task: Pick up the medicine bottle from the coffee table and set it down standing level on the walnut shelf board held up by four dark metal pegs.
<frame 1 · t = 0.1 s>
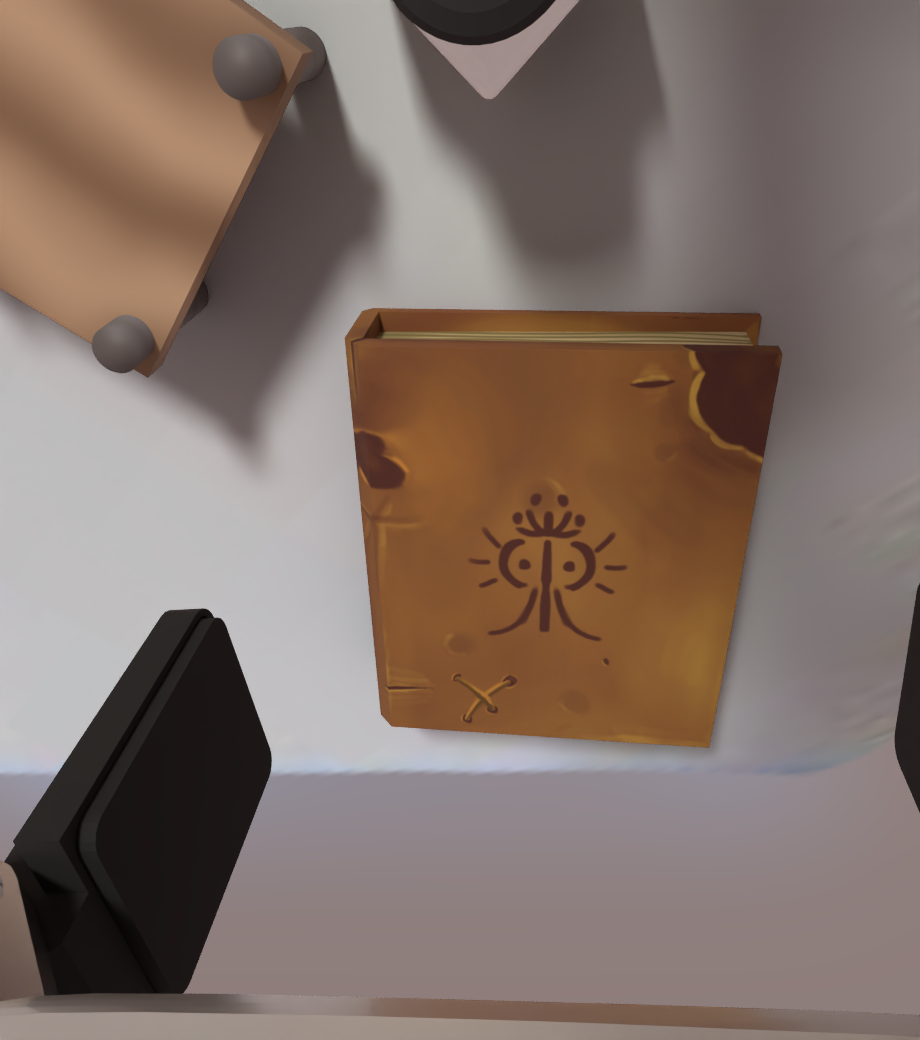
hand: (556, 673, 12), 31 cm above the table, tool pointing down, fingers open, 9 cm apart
diary: (549, 510, 47), on the table
shelf stand: (116, 99, 38), on the table
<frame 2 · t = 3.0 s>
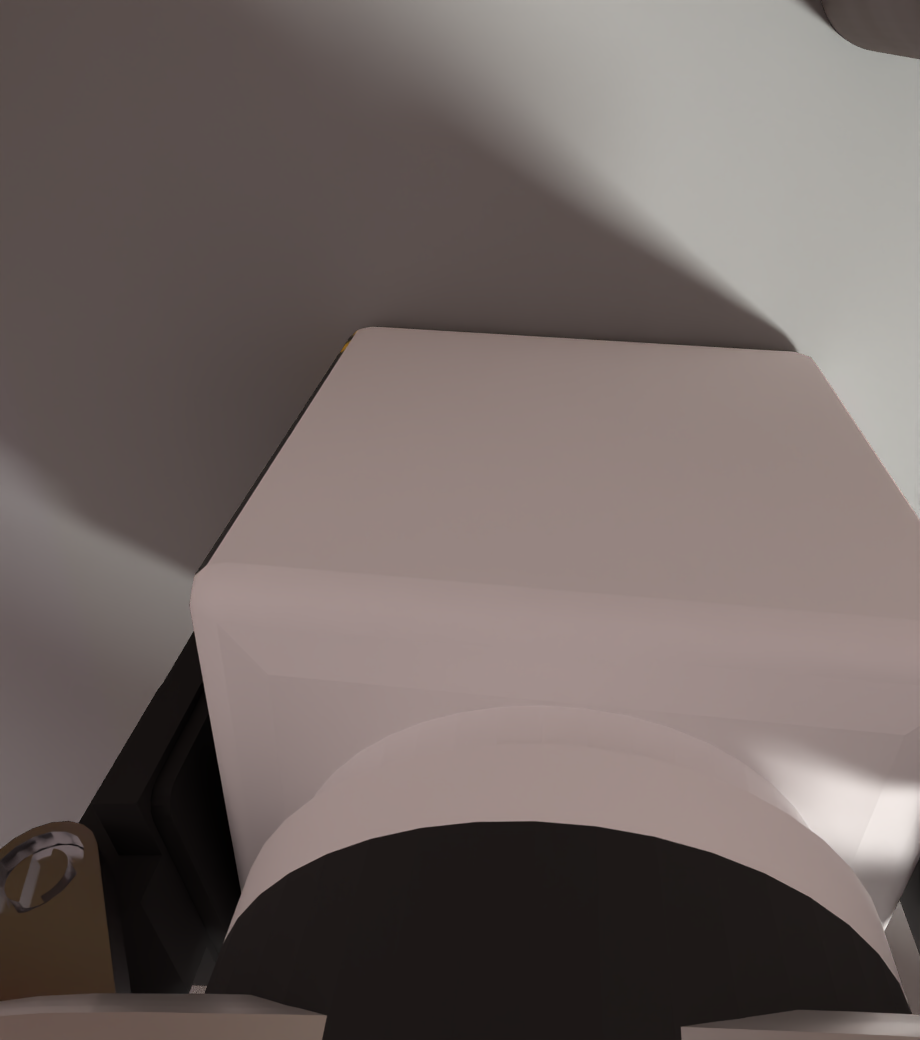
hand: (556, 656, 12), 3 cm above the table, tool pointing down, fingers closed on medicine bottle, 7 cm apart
medicine bottle: (560, 522, 15), on the table, touching gripper
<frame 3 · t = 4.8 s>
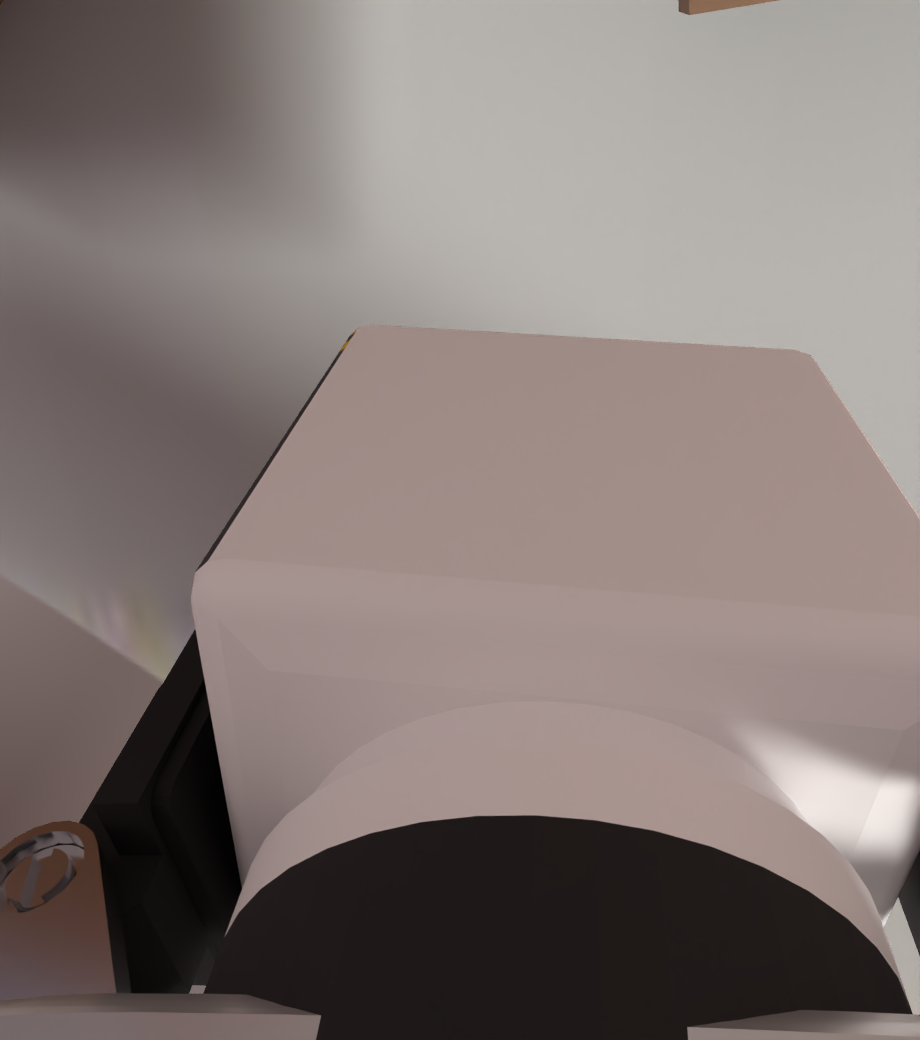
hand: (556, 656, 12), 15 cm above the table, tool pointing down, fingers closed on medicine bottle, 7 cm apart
medicine bottle: (560, 520, 15), point 12 cm above the table, touching gripper
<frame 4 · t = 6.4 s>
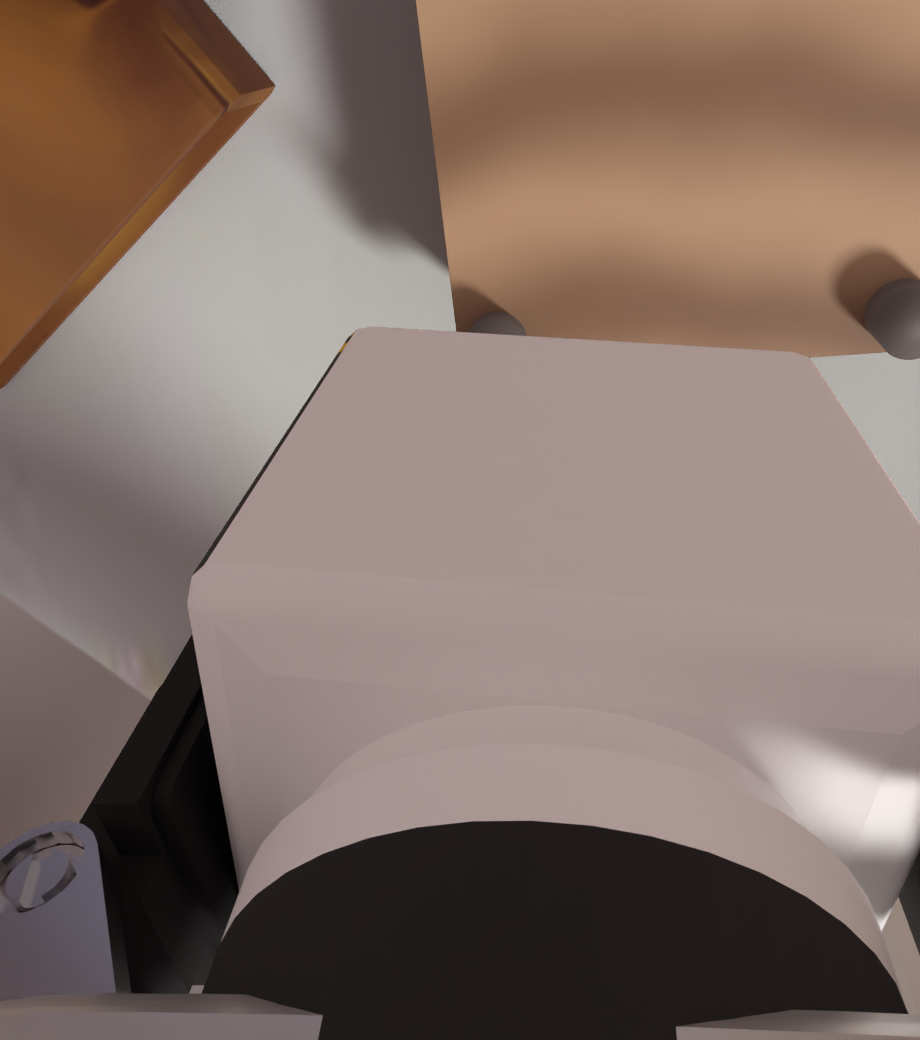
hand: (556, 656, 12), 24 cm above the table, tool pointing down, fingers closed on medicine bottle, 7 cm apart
medicine bottle: (558, 522, 15), point 20 cm above the table, touching gripper
shelf stand: (672, 92, 30), on the table
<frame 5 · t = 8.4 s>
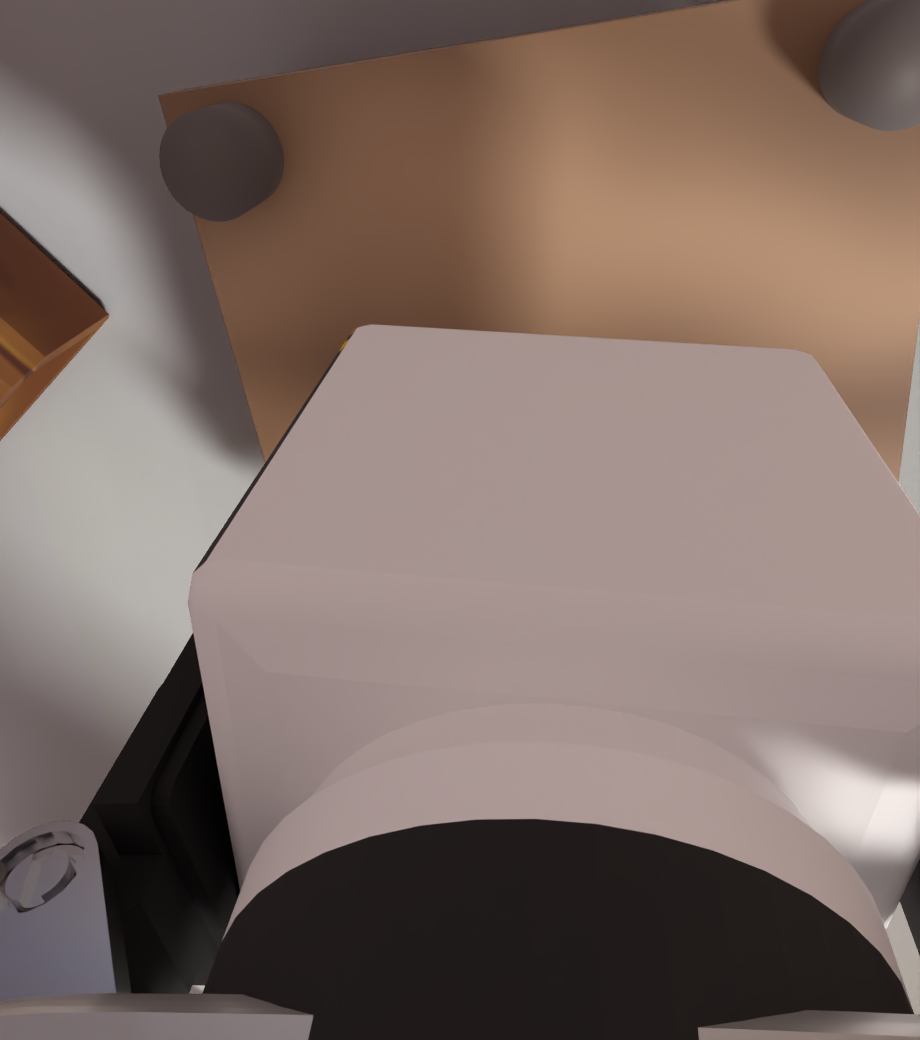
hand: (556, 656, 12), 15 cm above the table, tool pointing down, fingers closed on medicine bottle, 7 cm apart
medicine bottle: (560, 520, 15), point 12 cm above the table, touching gripper
shelf stand: (565, 316, 25), on the table
when the fingers open (11 cm above the table, at t = 10.2 s): medicine bottle drops 1 cm, resting on shelf stand.
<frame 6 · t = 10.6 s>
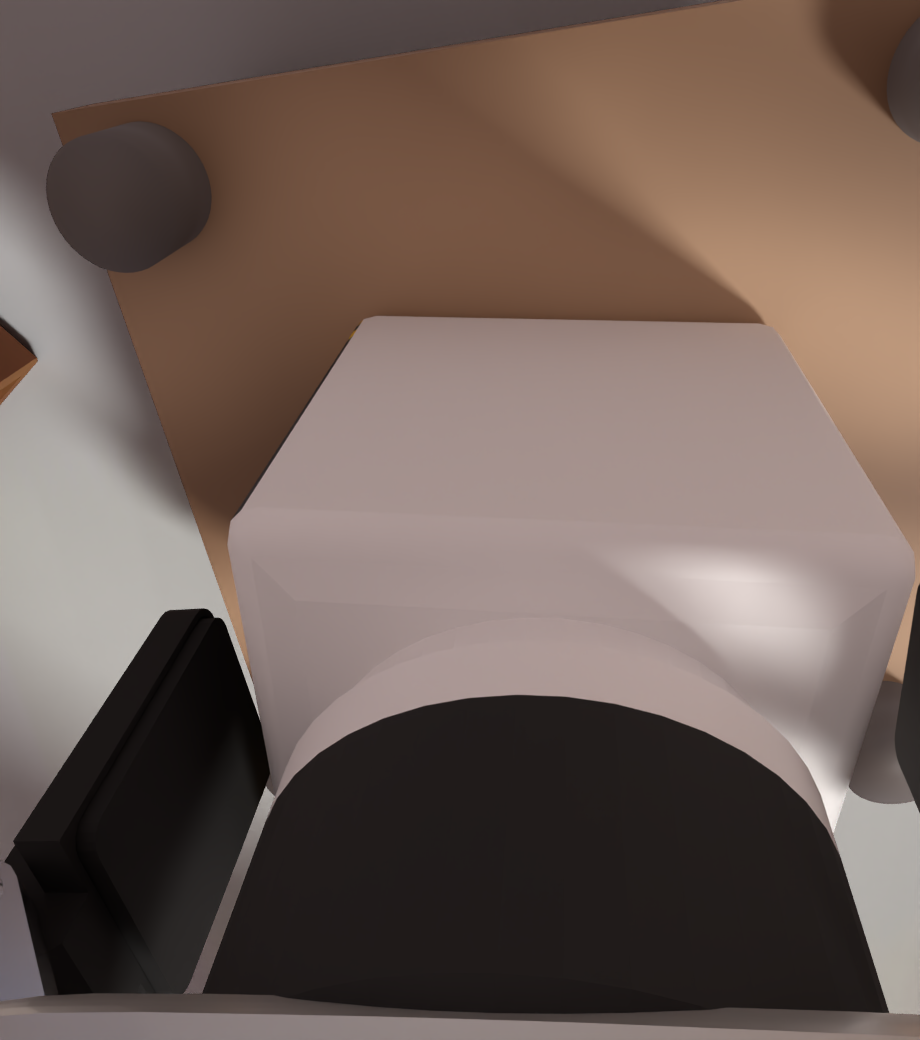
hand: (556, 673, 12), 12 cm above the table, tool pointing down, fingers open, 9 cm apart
medicine bottle: (555, 490, 17), point 6 cm above the table, touching shelf stand
shelf stand: (562, 361, 22), on the table
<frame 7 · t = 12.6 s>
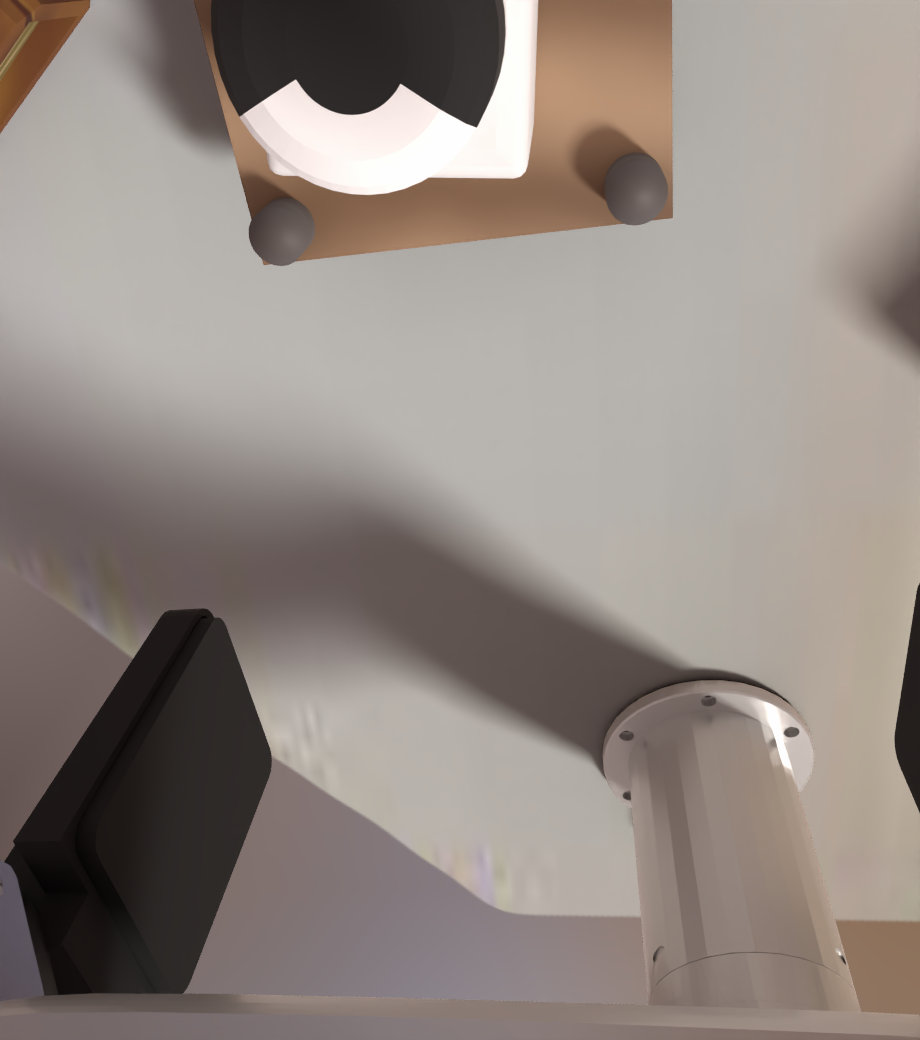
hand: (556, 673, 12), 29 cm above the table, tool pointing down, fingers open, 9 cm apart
medicine bottle: (425, 10, 27), point 6 cm above the table, touching shelf stand
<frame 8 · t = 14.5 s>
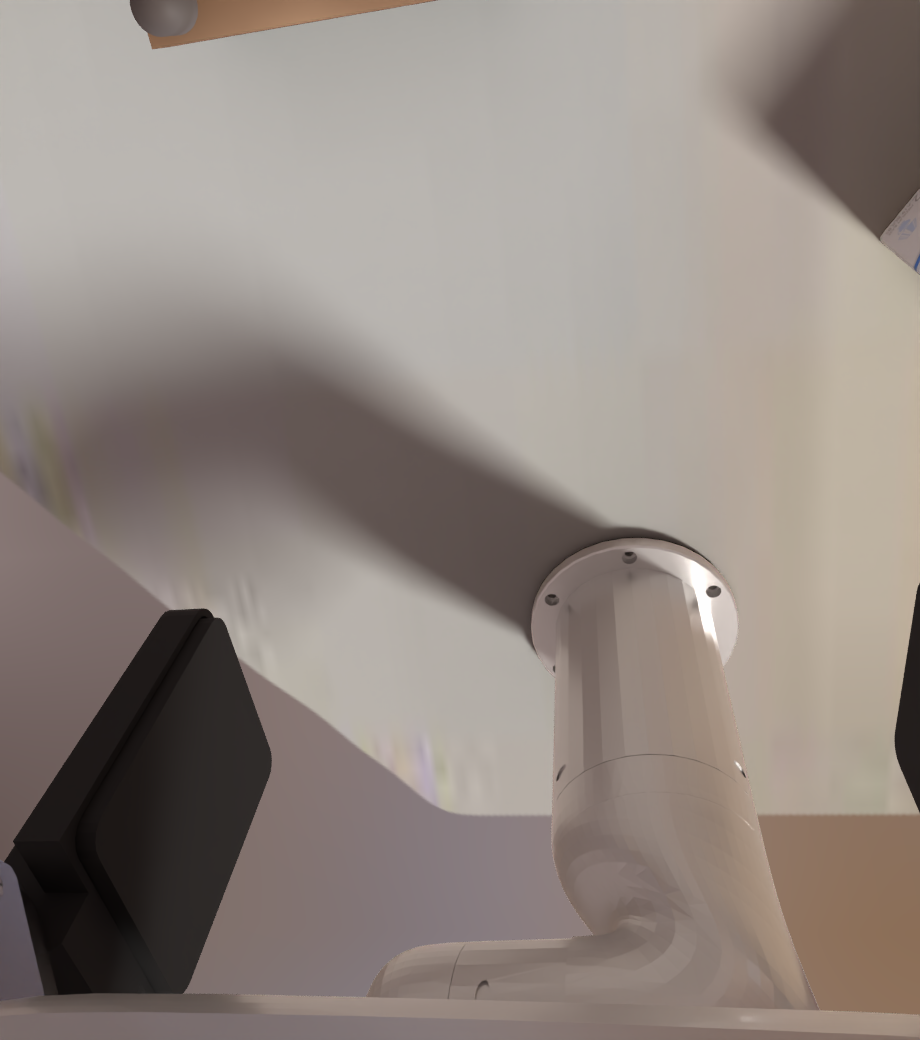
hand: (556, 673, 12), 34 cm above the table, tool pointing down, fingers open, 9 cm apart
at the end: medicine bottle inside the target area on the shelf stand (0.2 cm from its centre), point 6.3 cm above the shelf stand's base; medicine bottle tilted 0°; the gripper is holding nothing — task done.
